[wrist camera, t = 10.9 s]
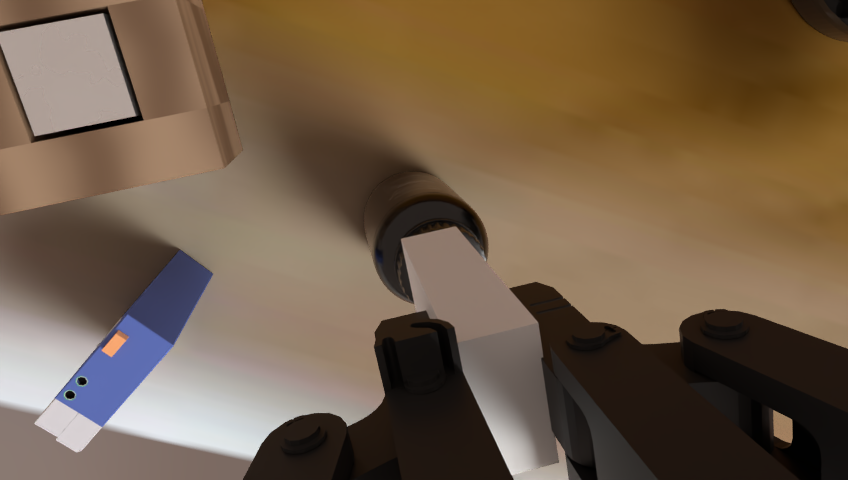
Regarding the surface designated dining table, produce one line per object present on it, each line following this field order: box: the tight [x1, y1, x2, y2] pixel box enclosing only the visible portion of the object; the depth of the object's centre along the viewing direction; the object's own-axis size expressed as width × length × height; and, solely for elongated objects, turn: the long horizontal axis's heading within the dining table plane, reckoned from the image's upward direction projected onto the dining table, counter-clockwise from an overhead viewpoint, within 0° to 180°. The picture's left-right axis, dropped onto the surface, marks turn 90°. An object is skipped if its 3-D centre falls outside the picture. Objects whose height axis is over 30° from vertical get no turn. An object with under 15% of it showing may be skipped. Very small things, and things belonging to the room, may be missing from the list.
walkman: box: [35, 250, 213, 452], centre depth 36 cm, size 8×3×12 cm, turn 137°
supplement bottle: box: [364, 171, 488, 305], centre depth 37 cm, size 7×7×12 cm
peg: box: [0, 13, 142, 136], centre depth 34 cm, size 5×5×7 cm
